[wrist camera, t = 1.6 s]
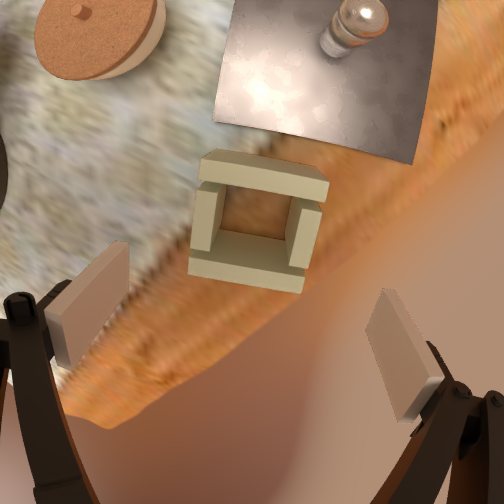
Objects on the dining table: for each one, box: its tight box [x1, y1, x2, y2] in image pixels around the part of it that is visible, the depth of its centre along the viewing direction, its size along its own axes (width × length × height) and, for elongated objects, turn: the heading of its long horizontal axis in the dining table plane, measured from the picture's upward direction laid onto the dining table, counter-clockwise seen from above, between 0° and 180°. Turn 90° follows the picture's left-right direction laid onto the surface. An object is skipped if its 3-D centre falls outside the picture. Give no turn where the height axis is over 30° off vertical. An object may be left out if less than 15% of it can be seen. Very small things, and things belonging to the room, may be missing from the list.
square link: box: [187, 149, 330, 294], centre depth 27 cm, size 9×9×7 cm
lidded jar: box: [34, 0, 166, 81], centre depth 19 cm, size 11×11×9 cm
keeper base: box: [212, 0, 438, 165], centre depth 18 cm, size 18×18×11 cm
